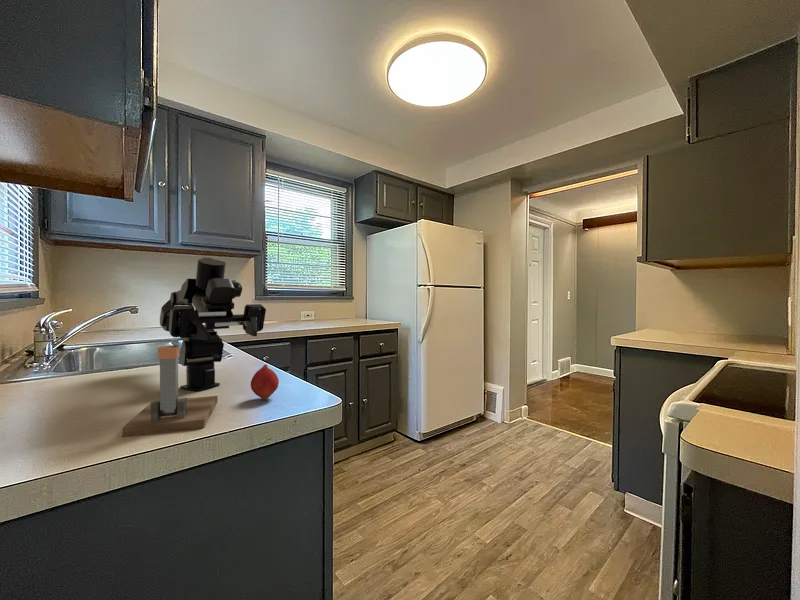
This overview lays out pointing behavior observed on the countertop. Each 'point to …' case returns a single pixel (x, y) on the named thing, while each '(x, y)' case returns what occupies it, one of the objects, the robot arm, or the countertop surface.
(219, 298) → the robot arm
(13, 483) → the countertop surface
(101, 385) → the countertop surface
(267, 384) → the onion
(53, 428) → the countertop surface
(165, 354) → the lever
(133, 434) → the lever base
